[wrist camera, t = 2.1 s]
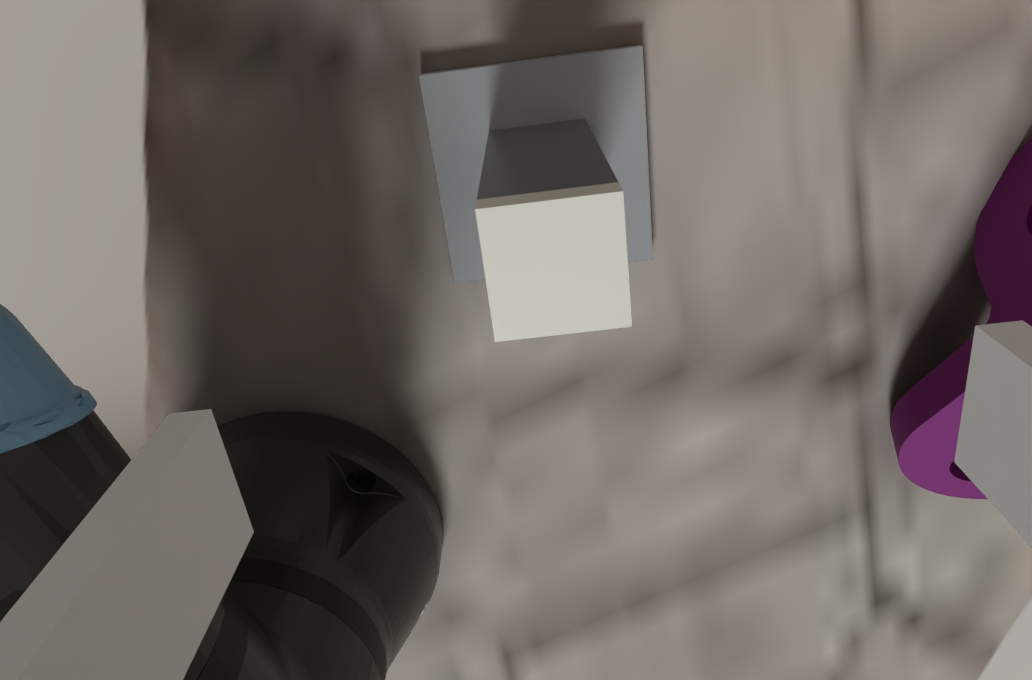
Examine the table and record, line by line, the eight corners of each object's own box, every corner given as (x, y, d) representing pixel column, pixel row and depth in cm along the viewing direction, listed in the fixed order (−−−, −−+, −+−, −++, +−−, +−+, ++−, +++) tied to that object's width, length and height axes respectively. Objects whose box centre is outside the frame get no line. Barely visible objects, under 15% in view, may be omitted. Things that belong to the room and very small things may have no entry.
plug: (501, 223, 33) (495, 342, 22) (488, 130, 31) (474, 209, 20) (592, 212, 32) (631, 326, 22) (584, 118, 31) (623, 191, 20)
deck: (455, 277, 35) (454, 283, 34) (421, 73, 31) (418, 75, 30) (650, 253, 34) (652, 259, 33) (639, 44, 30) (642, 45, 30)
